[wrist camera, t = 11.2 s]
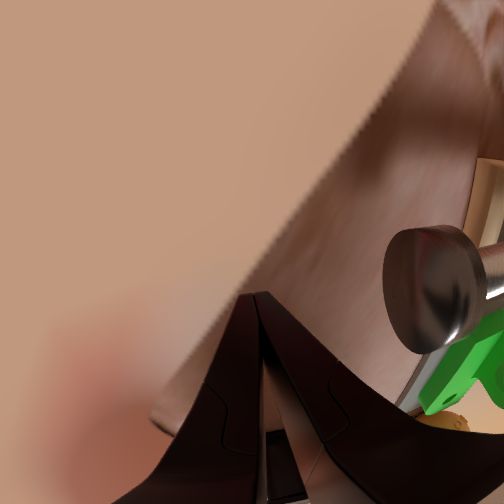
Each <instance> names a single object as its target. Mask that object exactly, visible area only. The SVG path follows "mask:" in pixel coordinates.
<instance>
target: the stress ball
mask: <svg viewBox="0 0 504 504" xmlns="http://www.w3.org/2000/svg"><path fill="white" fill-rule="evenodd" d="M415 419H416V420H418V421H420V422H422V423H425V424H427V425H431V426H434V427H440V428H446V429H453V430H461V431H469V432H470V430H469V427H468V425H467V420H466V419H465V418H464V417H463V416H462V415H460V416H459V415H457V414H455V413H453V412H449V411H439V412H437V413H435V414H432V415H426V414H425V413H423V414H421V415H419V416H418V417H416V418H415Z"/></svg>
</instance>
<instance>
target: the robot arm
mask: <svg viewBox="0 0 504 504" xmlns="http://www.w3.org/2000/svg"><path fill="white" fill-rule="evenodd" d="M263 362H264V366H265V370H266V373H267V376H268V379H269V382H270V385H271V388H272V391H273V394H274V398H275V401H276V404H277V407H278V410H279V413H280V416H281V419H282V422H283V425H284V428H285V431H281V432H275V433H269V434H266V432H265V398H264V369H263ZM203 382H204V383H202V385H201V387H200V390H199V392H198V394H197V397H196V399H195V401H194V403H193V405H192V407H191V410H190V411H189V413H188V415H187V417H186V419H185V420H184V422H183V424H182V426H181V427H180V429H179V431H178V432H177V434H176V436H175V437H174V439H173V441H172V442H171V444H170V445H169V447H168V449H167V450H166V452H165V454H164V455H163V457H162V458H161V460H160V462H159V463H158V465H157V466H156V468H155V469H154V470H153V472H152V473H151V474H150V475H149V476H148V477H147V478H146V479H145V480H144V481H143V482H142V483H140V484H139V485H138V486H136V487H135V488H133V489H132V490H131V491H129V492H128V493H126V494H125V495H123V496H122V497H120V498H119V499H117V500H116V501H114V502H113V503H111V504H309V503H311V504H504V434H489V433H477V432H469V431H461V430H453V429H446V428H440V427H434V426H431V425H427V424H425V423H422V422H420V421H418V420H416V419H414V418H413V417H411V416H410V415H408V414H407V413H405V412H404V411H403V410H401V409H400V408H398V407H397V406H395V405H394V404H393V403H391V402H390V401H388V400H387V399H386V398H384V397H383V396H381V395H380V394H379V393H377V392H376V391H374V390H373V389H372V388H371V387H369V386H368V385H367V384H365V383H364V382H363V381H361V380H360V379H359V378H358V377H357V376H356V375H355V374H353V373H352V372H351V371H350V370H349V369H348V368H347V367H346V366H345V365H344V364H343V363H342V362H341V361H338V359H337V358H336V357H335V356H334V355H333V354H332V353H331V352H330V351H329V350H328V349H327V348H326V347H325V346H324V345H323V344H322V343H321V342H320V341H318V340H317V339H316V338H315V337H314V336H313V335H312V334H311V333H310V332H309V331H308V330H307V329H306V328H305V327H304V326H303V325H302V324H301V323H300V322H299V321H298V320H297V319H296V318H295V317H294V316H293V315H292V314H291V313H289V312H288V311H287V310H286V309H285V308H284V307H283V306H282V305H281V304H280V303H279V302H278V301H277V300H276V299H275V298H274V297H273V296H272V295H271V294H270V293H269V292H268V291H263V292H256V293H254V295H253V294H252V293H248V294H241V295H239V296H238V298H237V301H236V303H235V306H234V308H233V310H232V313H231V315H230V318H229V320H228V322H227V325H226V327H225V330H224V332H223V335H222V337H221V339H220V342H219V344H218V347H217V349H216V351H215V354H214V356H213V359H212V361H211V364H210V366H209V368H208V371H207V373H206V376H205V378H204V380H203ZM267 498H268V501H267Z"/></svg>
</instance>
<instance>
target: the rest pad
mask: <svg viewBox="0 0 504 504" xmlns="http://www.w3.org/2000/svg"><path fill="white" fill-rule="evenodd" d="M502 309H504V293H502V294H499V295H497V296H495V297H492V298H490V299H487V301H486V307H485V311H484V314H483V317H485V316H487V315H490V314H492V313H494V312H497V311H499V310H502ZM450 346H451V345H449V346H446V347H444V348H441V349H439V350H436V351H434V352H431V353H429V354H424V356H423V358H422V359H421V361H420V363H419V365H418V367H417V369H416V370H415V372H414V374H413V376H412V378H411V379H410V381H409V383H408V384H407V386H406V388H405V389H404V391H403V393H402V394H401V396H400V398H399V399H398V401H397V402H396V404H395V406H397V407H398V408H400V409H401V410H403V411H404V412H405V413H407V412H410V411H412V410H414V409H417V408H419V407H422V406H421V404H420V402H419V400H418V395H419V393H420V391H421V390H422V389H423V387H424V386H425V384H426V383H427V382H428V380H429V379H430V377H431V376H432V374H433V373H434V371H435V370H436V368H437V367H438V365H439V364H440V362H441V360H442V359H443V357H444V356H445V354H446V352H447V351H448V349H449V347H450Z"/></svg>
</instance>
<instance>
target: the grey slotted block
mask: <svg viewBox="0 0 504 504" xmlns="http://www.w3.org/2000/svg"><path fill="white" fill-rule="evenodd" d="M463 232H464V233H465V234H466V235H467V236H468V237H469V238H470V240H471V241H472V242H473V244H474V245H475V247H476V248H478V247H483V246H487V245H492V244H496V243H501V242H504V161H502V160H494V159H485V158H477V165H476V171H475V177H474V183H473V188H472V193H471V198H470V203H469V208H468V212H467V216H466V220H465V224H464V228H463Z"/></svg>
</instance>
